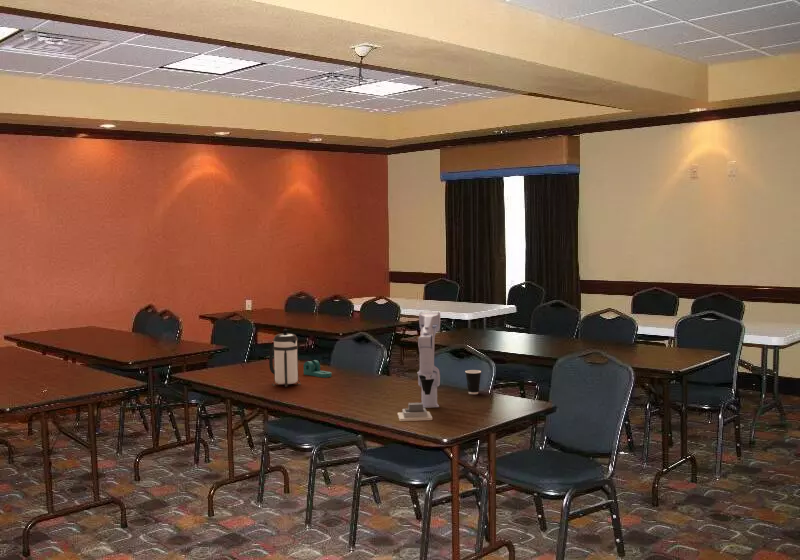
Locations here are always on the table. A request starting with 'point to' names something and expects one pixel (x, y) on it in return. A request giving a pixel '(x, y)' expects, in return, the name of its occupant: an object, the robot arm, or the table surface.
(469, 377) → the dixie cup
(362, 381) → the table surface
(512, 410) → the table surface
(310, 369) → the bracket
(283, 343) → the coffee press
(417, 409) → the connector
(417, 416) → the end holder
